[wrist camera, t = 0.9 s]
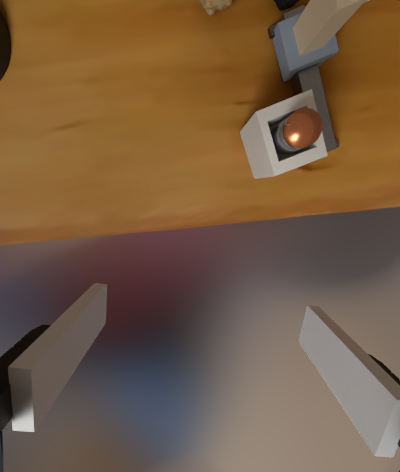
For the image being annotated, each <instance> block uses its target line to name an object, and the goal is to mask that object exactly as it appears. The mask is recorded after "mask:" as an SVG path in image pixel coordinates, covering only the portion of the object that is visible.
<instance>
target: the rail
mask: <svg viewBox="0 0 400 472" xmlns="http://www.w3.org/2000/svg"><path fill="white" fill-rule="evenodd" d="M304 9H305V6H304V5H302V6H300V7H298V8H295V9H293V10H291V11H288V12H286V13H284V14H283V16H282V18H281V20H280V21H279V22H281V21H283V20H286V19H288V18H291V17H293V16H295V15H298V14H300V13H302V12H303V11H304ZM277 24H278V23H276V24H274V25H272V26H269V28H268V34H269V38H270V39H271V38H274V37H275V33H274V30H275V28H276V26H277ZM291 83H292V87H293V91H294V95H295V96H296V95H298V94H301V93H303V92H306V91H308V90H311V89H312V92H313V96H314V100H315V104H316V108H317V113H318V114H319V115H320V117H321V120H322V134H323V138H324V142H325V146H326V151H327V152H328V151H331V150H333V149H336V148H337V147H339V143H338V139H337V140H335V138H334V133H333V129H332V125H331V120H330V116H329V111H328V107H327V103H326V98H325V94H324V89H323V85H322V81H321V76H320V72H319V67H318V63H317V64H314V65H312V66H309V67H307V68H304V69H302V70H300V71H297V72H296V73H295V74H294V75H293V77H292V78H291Z"/></svg>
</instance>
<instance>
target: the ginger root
mask: <svg viewBox="0 0 400 472" xmlns="http://www.w3.org/2000/svg"><path fill="white" fill-rule="evenodd" d="M199 1H200V3H201V5H202V6H203V7H204V9H205V10H206V12H207V14H208V15H209V16H210V17H212V16H213V15H214V14H215V12H216V10H220V11H222V10H225V9H226V8H227V7H229V6H230V5H231V3H232V0H199Z"/></svg>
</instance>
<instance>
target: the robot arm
mask: <svg viewBox="0 0 400 472" xmlns="http://www.w3.org/2000/svg"><path fill="white" fill-rule="evenodd" d="M9 58H10V38H9V33H8V29H7V26H6V23H5V20H4V18H3V16H2V14H1V12H0V79H1V78H2V76H3V75H4V73H5V71H6V69H7V66H8V62H9ZM106 299H107V284H98V283H94V285H92V286H91V287H90V288H89V289H88V290H87V291H86V292H85V293H84V294H83V295H82V296H81V297H80V298H79V299H78V300H77V301H76V302H75V303H74V304H73V305H72V306H71V307H70V308H69V309H68V310H66V311H65V312H64V313H63V314H62V315H61V316H60V317H59V318H58V319H57V320H56V321H55V322H54V323H53V324H52V325H41V326H39V327H37V328H35V329H33V330H32V331H30V332H29V333H28V334H26V335H25V336H24V337H23V338H22V339H21V341H18V342H17V343H16V344H15V345H14V347H12V348H10V349H9V350H8V351H7V352H6V353H5V354H4V355H3V356H1V357H0V472H4V471H3V470H4V469H3V433H2V430H3V429H4V427H5V426H6V425H7V423H8V422H9V421H10V420H11V418H12V427H13V431H27V432H35V430H36V428H37V427H38V425H39V424H40V422H41V421H42V419H43V418H44V416H45V415H46V413H47V412H48V410H49V409H50V407H51V406H52V404H53V403H54V401H55V399H56V398H57V396H58V395H59V393H60V392H61V390H62V389H63V387H64V385H65V384H66V383H67V381H68V380H69V378H70V377H71V375H72V374H73V372H74V370H75V369H76V367H77V366H78V364H79V363H80V361H81V360H82V358H83V356H84V355H85V354H86V352H87V351H88V349H89V347H90V346H91V344H92V343H93V341H94V340H95V338H96V337H97V335H98V334H99V332H100V330H101V329H102V327H103V326H104V325H105V323H106ZM299 343H300V344H301V346H302V347H303V349H304V351H305V352H306V354H307V355H308V357H309V358H310V359H311V361H312V362H313V364H314V366H315V367H316V368H317V370H318V372H319V373H320V374H321V376H322V378H323V379H324V381H325V382H326V384H327V385H328V387H329V388H330V390H331V391H332V393H333V394H334V395H335V397H336V399H337V400H338V402H339V403H340V404H341V406H342V408H343V409H344V411H345V412H346V414H347V415H348V417H349V418H350V420H351V421H352V423H353V424H354V426H355V427H356V428H357V430H358V432H359V433H360V435H361V436H362V438H363V439H364V441H365V442H366V444H367V445H368V447H369V448H370V450H371V451H372V453H373V454H374V455H375V456H380V457H393V456H394V454H395V452H396V449H397V447H398V445H399V447H400V380H399V378H398V377H396V376H395V375H394V374H393V373H391V371H390V370H389V369H388V368H387V367H386V366H385V365H384V364H383V363H382V362H380V361H379V360H377V359H376V358H374V357H373V356H371V355H369V354H367V353H366V352H365V351H364V350H363V349H362V348H361V347H360V346H359V345H357V343H356V342H355V341H354V340H353V339H352V338H351V337H349V336H348V335H347V334H346V333H345V332H344V331H343V330H342V329H341V328H340V327H339V326H338V325H337V324H336V323H335V322H334V321H333V320H332V319H331V318H330V317H329V316H328V315H327V314H326V313H325V312H324V311H323V310H322V309H321V308H320V307H319V306H310V305H308V306H307V309H306V314H305V317H304V321H303V325H302V329H301V333H300V337H299ZM399 472H400V471H399Z"/></svg>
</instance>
